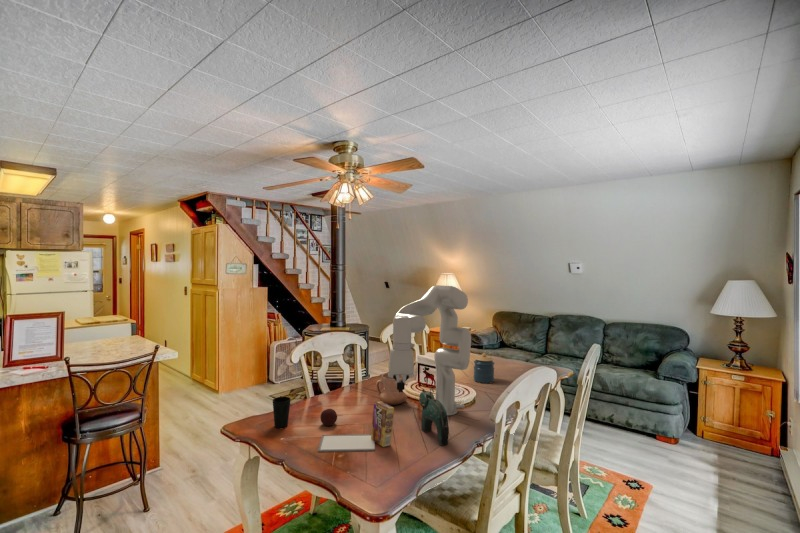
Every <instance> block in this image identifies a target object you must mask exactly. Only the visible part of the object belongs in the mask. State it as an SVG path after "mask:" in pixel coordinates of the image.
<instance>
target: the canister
mask: <svg viewBox="0 0 800 533" xmlns="http://www.w3.org/2000/svg"><path fill="white" fill-rule="evenodd" d="M474 359H475V360H474V361H473V363H474V365H473V381H474V380H475V381H474V382H476V381H477V382H476V383H479V382H482V383H481V384H491V383H490V382H492V383H494V382H495V362H494V358H492V357H491V356H489V355H487V354H486V353H485V352H484V353H482V354H481V355H478V356H476V357H475V358H474ZM493 381H494V382H493Z"/></svg>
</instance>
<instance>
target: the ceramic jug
mask: <svg viewBox="0 0 800 533" xmlns="http://www.w3.org/2000/svg"><path fill="white" fill-rule="evenodd" d="M388 373H389V372H387V373H382V374H381V379H378V380H377V381H376V382H375V386H376V390H377V392H378V398H379V400H380V401H382V402H384V403H386V404H388V405H389V406H393V405H394V406H395V405H401V404H402V403H404V402H405V401H407V398H408V396H407V394H406V392H405V391H403V392H399V391H398V390H397V381H396V380H395V379H394V378H391V377H388ZM402 377H403V375H399V379H400V381H401V380H402ZM379 384H381V385H383V387H384V389H383V390H382V391H381V389H380V386H379ZM408 385H409V383H408V382H406V381H405V386H406V387H407V386H408Z"/></svg>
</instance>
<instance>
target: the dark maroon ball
mask: <svg viewBox="0 0 800 533" xmlns="http://www.w3.org/2000/svg"><path fill="white" fill-rule="evenodd" d="M337 420H338V414H337V412H336V411H335V409H333V408H327V409H324V410H323V411H321V413H320V423H321V424H322V425H324V426H327V427H330V426H332V425H334V424H335V423H336V422H337Z"/></svg>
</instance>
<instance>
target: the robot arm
mask: <svg viewBox="0 0 800 533" xmlns="http://www.w3.org/2000/svg"><path fill="white" fill-rule="evenodd" d="M468 304H469V298H468V295H467V294H466V293H465V292H464V291H463V290H461V289H459V288H458V287H456V286H453V285H432V286H431V287H430V288H428V290H427V291H426V293H424V295H423V296H422V297H421V298H420V299H417V300H416V301H413V302H410V303H407V304H406V305H404V306H402V307H401V308H400V309H399V310H398V311H397V312H396V314H395V315H394V317H393V320H392V327H393V328H392V348H391V349H390V352H389V355H388V356H389V357H388V358H389V359H388V372H387V373H388V377H391V378H394V379H395V380H396V381H397V390H398V391H399V392H404V390H405V386H406V385H405V382H406V381H408V380H409V379H411V378H415V374H414V372H415V371H414V370H415V364H414V362H415V361H414V351H413V349H412V348H415V343H412V334H414V333H415V334H418V333H421V332H423V331H424V330H425V328H426V326H427V321H426V318H425V317H426V316H430V315H432V314H434V313H435V312H436V310H437V309H438V311H439V314H440V327H439V342H440V343H441V344H442V345H445V346H450V347H451V348H449V347H439V348H437V349H436V351H435V352H434V364H435V400H438V401H440V402H441V403H442V404H443V406H444V408H445V410H446V413H447V417H448V416H454V415H457V413H458V411H459V410H458V409H465V404H462V403H461V402H456V376H455V375H456V374H455V372H454V370H459V371H466V370H467V369H468V367H469V365H470V359H471V345H472V334H471V331H470V330H469V329H468V328H466V327H459V326H458V322H459V321H458V320H459V318H458V317H459V316H458V314H457V312H456V310H465V309H466V307H467V306H468ZM452 347H458V349H456V348H452ZM453 369H454V370H453ZM399 375H403V377H402V380H401V381H400V379H399Z"/></svg>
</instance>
